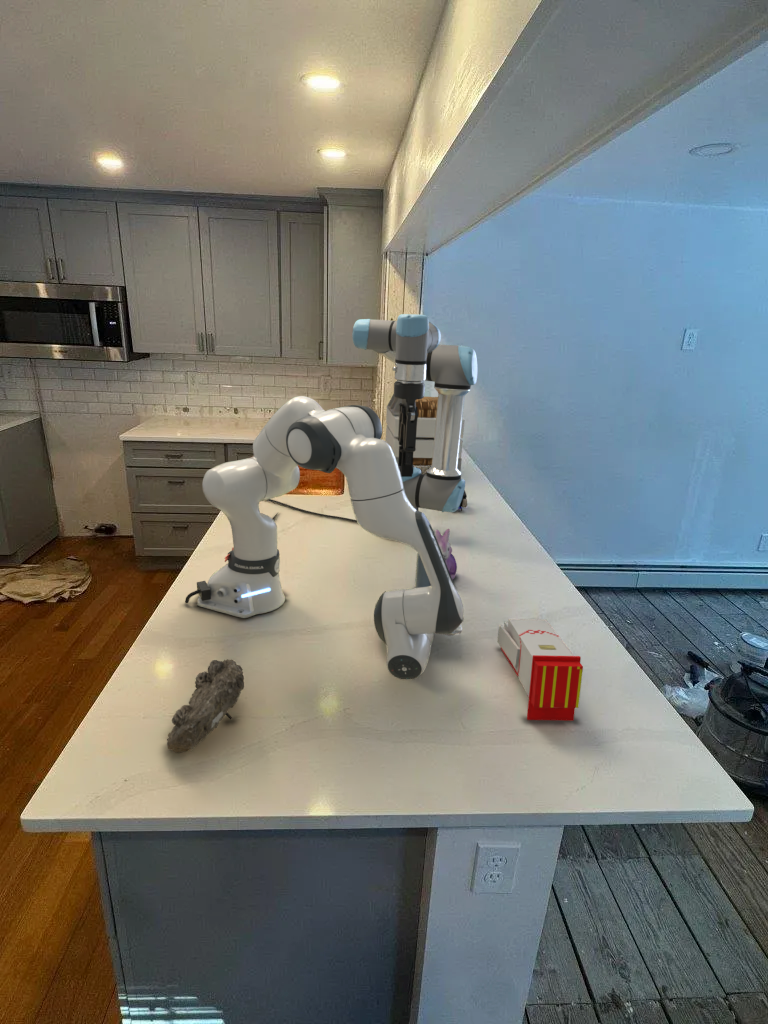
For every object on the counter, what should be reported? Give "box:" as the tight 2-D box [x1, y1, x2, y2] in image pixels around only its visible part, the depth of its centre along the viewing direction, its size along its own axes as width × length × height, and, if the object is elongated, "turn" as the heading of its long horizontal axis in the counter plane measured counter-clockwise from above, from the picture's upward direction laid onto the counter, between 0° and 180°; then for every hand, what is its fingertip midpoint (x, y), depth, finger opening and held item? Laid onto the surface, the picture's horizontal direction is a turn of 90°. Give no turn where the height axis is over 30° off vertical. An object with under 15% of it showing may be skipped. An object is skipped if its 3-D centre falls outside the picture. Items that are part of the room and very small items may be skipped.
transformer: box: [384, 393, 465, 473], centre depth 268 cm, size 34×33×41 cm
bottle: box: [414, 532, 435, 588], centre depth 139 cm, size 5×5×25 cm
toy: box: [497, 618, 584, 722], centre depth 122 cm, size 12×13×30 cm
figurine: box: [434, 528, 458, 581], centre depth 166 cm, size 9×10×15 cm
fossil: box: [166, 658, 245, 754], centre depth 106 cm, size 22×10×15 cm
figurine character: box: [457, 489, 468, 512], centre depth 228 cm, size 7×8×15 cm
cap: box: [398, 463, 415, 474], centre depth 146 cm, size 4×4×2 cm
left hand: (423, 600), depth 142 cm, fingers closed on bottle, 4 cm apart
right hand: (404, 473), depth 146 cm, fingers closed on cap, 4 cm apart
